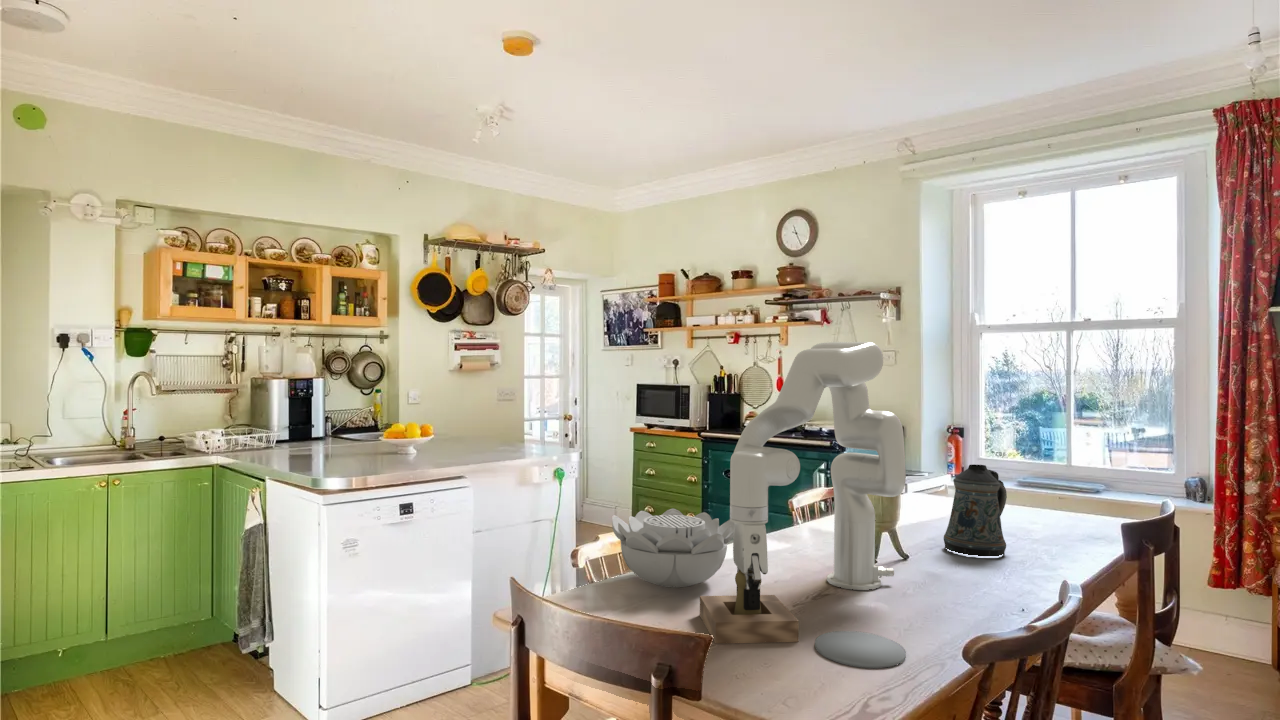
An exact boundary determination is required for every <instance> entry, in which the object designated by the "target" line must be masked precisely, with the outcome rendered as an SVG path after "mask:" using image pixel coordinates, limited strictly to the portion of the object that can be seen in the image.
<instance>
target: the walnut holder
mask: <svg viewBox="0 0 1280 720" xmlns="http://www.w3.org/2000/svg"><path fill="white" fill-rule="evenodd" d="M736 597H737V594H736V595H700V596H699V617H700V619H701V621H702V623H703V624H704V625H705V628H706V630H707V631H708V633H709V634H711V635H713V637H714V640H713V641H714V644H716V645H717V644H718V645H719V644H725V645H726V644H760V643H761V644H762V643H764V644H765V643H799V630H800V629H799V627H800V625H799V624H800V623H799V622H800V621H799V620H798V618H797V616H795V615H794V614H793V613H792V611H790V610H789V609H788V607H786V605H784V603H783V602H782V601H781V600H780V598H778V597H777V595H775V594H760V605H761V613H762V614H750V615H734V612H735V605H736ZM711 635H710V636H711Z"/></svg>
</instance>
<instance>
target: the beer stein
mask: <svg viewBox="0 0 1280 720" xmlns="http://www.w3.org/2000/svg"><path fill="white" fill-rule="evenodd" d="M999 476H1000V475H999V473H998V472H997V471H995V470H991V469H988V468H987V465H986V464H985V465H984V464H969V465H968V467H967V468H966V469H965V470H963V471H962V472H960V473H959V474H957V475H956V476H955V477H954V478H953V480H952V482H953V486H954V489H955V490H954V497H953V502H952V507H951V512H950V517H949V521H948V524H947V528H946V529H945V533H944V535H943V541H944V542H943V543H944V549H945V548H947V549H949V550H951V551H955V552H958V553H963V554H968V555H978V556H999V555H1002V554H1004V555H1005V552H1006V550H1007V549H1006V548H1007V542H1006V540H1005V538H1004V535H1003V534H1004V533H1003V529H1002V528H1003V527H1002V521H1001V515H1002V514H1003V512H1004V509H1005V506H1006V503H1007V498H1008V497H1007V489H1006V487H1005V485H1004V482H1003V481H1002V480H1000V479H999Z"/></svg>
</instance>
